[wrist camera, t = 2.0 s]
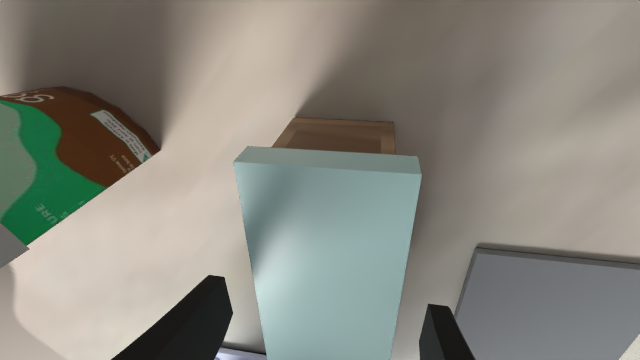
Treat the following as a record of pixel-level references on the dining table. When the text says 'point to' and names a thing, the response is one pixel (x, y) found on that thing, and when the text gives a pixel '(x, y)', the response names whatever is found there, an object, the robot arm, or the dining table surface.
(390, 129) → the box
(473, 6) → the dining table surface
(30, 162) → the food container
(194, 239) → the dining table surface
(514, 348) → the coaster
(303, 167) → the lid
